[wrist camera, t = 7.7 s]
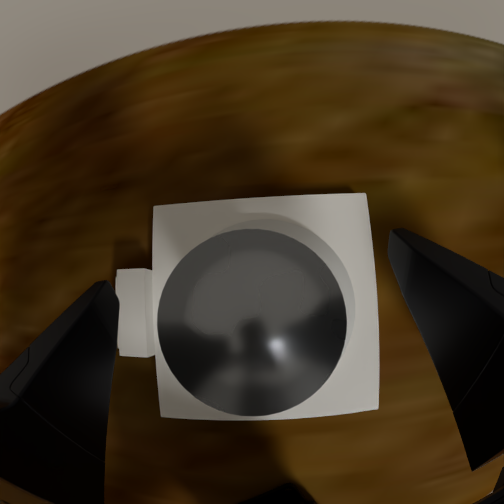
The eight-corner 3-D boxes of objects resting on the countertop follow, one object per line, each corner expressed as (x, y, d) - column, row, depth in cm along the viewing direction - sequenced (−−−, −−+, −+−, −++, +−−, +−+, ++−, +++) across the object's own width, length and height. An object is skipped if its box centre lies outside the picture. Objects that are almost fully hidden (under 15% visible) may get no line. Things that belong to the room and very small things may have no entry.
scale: (372, 403, 17) (384, 414, 15) (136, 408, 18) (121, 419, 16) (360, 199, 19) (371, 186, 17) (130, 214, 20) (114, 204, 18)
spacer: (251, 368, 16) (221, 445, 7) (208, 300, 17) (126, 292, 7) (320, 324, 17) (380, 349, 7) (276, 256, 17) (278, 194, 7)
